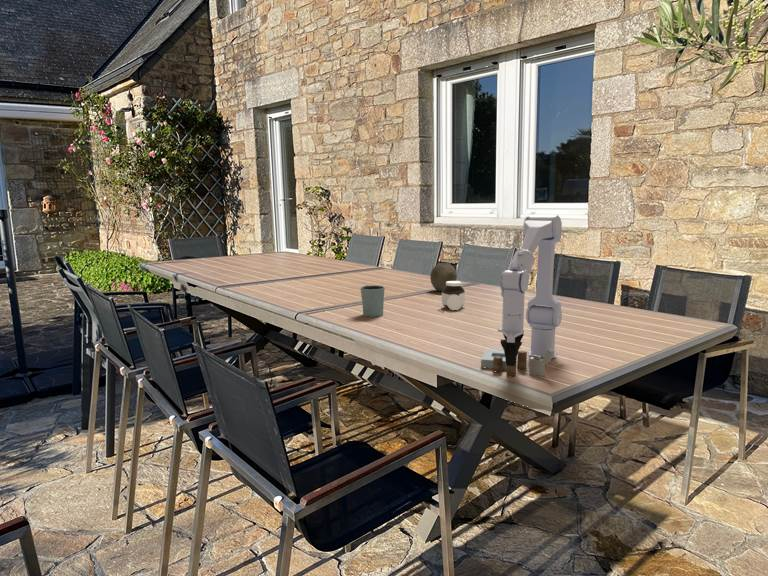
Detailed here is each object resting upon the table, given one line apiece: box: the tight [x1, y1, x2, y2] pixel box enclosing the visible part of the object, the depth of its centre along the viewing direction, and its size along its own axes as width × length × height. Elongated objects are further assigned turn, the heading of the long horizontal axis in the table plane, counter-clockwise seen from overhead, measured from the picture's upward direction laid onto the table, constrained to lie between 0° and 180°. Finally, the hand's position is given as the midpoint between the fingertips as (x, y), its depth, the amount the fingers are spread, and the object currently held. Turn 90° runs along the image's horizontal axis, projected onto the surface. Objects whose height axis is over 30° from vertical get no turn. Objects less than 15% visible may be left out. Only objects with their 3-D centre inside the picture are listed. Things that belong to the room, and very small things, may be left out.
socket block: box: [480, 348, 507, 370], centre depth 170 cm, size 12×9×2 cm
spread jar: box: [441, 280, 466, 311], centre depth 253 cm, size 12×11×12 cm
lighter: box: [528, 349, 555, 377], centre depth 158 cm, size 7×2×8 cm, turn 41°
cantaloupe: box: [429, 262, 458, 292], centre depth 299 cm, size 14×14×15 cm
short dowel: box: [492, 356, 503, 373], centre depth 162 cm, size 3×3×4 cm
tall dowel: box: [506, 358, 517, 378], centre depth 158 cm, size 3×3×7 cm
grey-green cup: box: [360, 284, 386, 318], centre depth 240 cm, size 10×10×12 cm
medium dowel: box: [516, 350, 528, 371], centre depth 164 cm, size 3×3×5 cm
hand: (511, 361), depth 158 cm, fingers open, 7 cm apart
